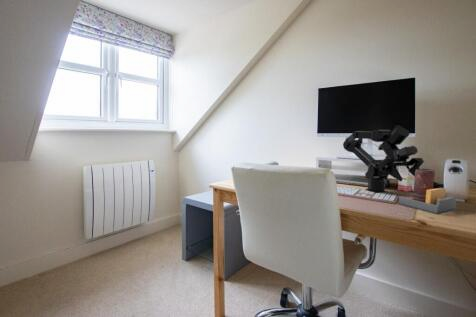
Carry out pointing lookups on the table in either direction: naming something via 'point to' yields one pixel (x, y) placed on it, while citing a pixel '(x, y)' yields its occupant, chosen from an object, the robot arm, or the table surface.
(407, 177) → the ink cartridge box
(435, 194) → the wedge
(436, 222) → the table surface
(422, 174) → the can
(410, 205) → the grey shallow open box
